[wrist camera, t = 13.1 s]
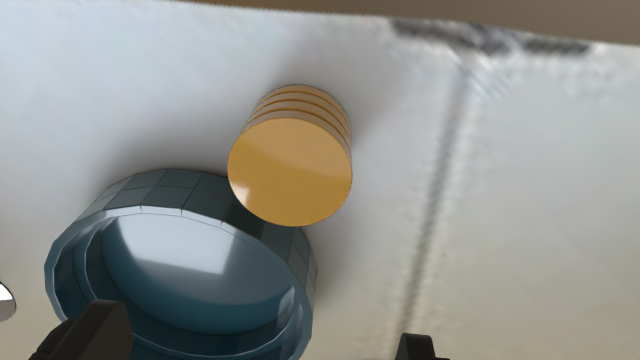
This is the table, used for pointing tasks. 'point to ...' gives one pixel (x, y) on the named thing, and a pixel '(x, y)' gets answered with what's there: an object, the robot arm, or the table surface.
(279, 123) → the tan ridged cylinder
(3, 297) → the wine glass
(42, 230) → the table surface
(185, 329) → the bowl
